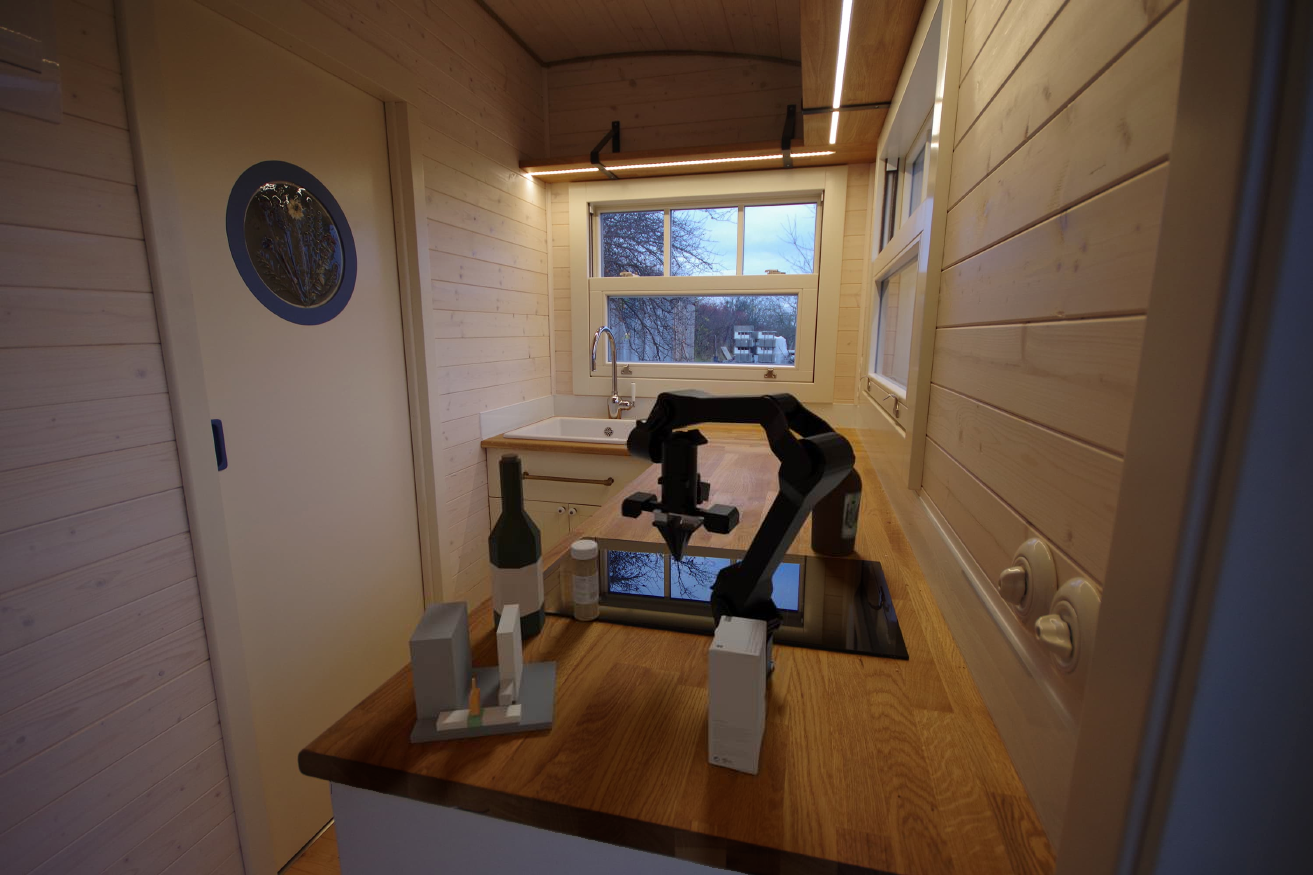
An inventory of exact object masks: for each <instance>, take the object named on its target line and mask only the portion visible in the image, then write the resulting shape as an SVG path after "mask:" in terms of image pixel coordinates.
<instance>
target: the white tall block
mask: <svg viewBox="0 0 1313 875" xmlns="http://www.w3.org/2000/svg"><path fill="white" fill-rule="evenodd" d="M496 644H497V657H498V658H497V659H498V666H499V673H500V691H499V706H503V705H512V701H515V700H517V699H518V693H519V687H520V681H521V675H522V670H523V664H524V663H523V646H522V640H521V629H520V614H519V604H515V605H504V608H503V612H502V615H501V619H500V623H499V626H498V630H497V633H496Z"/></svg>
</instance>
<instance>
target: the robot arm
mask: <svg viewBox="0 0 1313 875" xmlns="http://www.w3.org/2000/svg"><path fill="white" fill-rule="evenodd" d="M707 423H708V424H711V423H712V424H714V423H715V424H744V425H745V424H747V425H750V424H751V425H760V426H761V427H762V428H763V430H764V432H765V435H766V438H767V441H768V445H769V448H770V451H771V452H772V453H773V455H774V456H775V457H776V458H777V459H778V461H779V462H780V465H779V468H778V471H777V478H778V485H779V486H778V488H779V489H778V493H777V495H776V497H775V498H774V500H773V502H772V504H771V506H770V508H769V509H768V511H767V513H766V515H765V517H764V519H763V521H762V523H761V524H760V526H759V528H758V529H757V532H756V533H755V536H754V537H753V539H752V541H751V543H750V545H749V547H748V549H747V551H746V552H745V554H744V555H743V558H742V560H739V561H737V562H735V563H732V564H729V565H727V566H724V567H723V568H720V569H719V571H718V573H717V574H716V579H715V581H714V583H713V584H712V585H711V586H709V590H711V593H710V597H709V602H710V608H711V613H712V617H713V621H714V625H715V629H716V628H718V626H719V623H720V620H721V617H722V616H730V617H738V618H746V619H755V620H762V621H766V622H767V624H766V683H767V682H768V680H769V677H770V676H771V673H772V671H773V669H774V667H775V661H774V660H773V638H774V632H775V631H778V630H779V629H781V627H782V624H783V622H784V619H785V618H784V617H783V615H782V613H781V612H780V610H779V609H778V607H777V605H776V604H775V601H774V600H773V598H772V596H773V593H774V583H773V578H774V575H775V573H776V571H777V570H778V568H779V566H780V564H781V562H782V561H783V560H784V558H785V556H786V554H787V553H788V552H789V549H790V548H791V546H792V544H793V543H794V541H795V539H796V538H797V536H798V534H799V533H800V531H801V529H802V527H803V526H804V525H805V523H806V521H807V519H808V517H809V516H810V514H811V513H812V509H813V507H814V506H815V504H816V503H817V502H818V501H819V500H821V499H822V498H823V497H824V496H825V495H827V494H828V493H829V492H830V491H832V490H833V489H834V488H835V487H836V486H837V485H838V484H839V483H840V482H841V481H842V480H843V479H844V478H845V477H846V476H847V474H848V473H849V472H850V471H851V470H852V469H853V467H854V466H855V463H856V454H855V452H854V448H853V446H852V444H851V442H850V441H849V440H848V439H847V437H845V436H844V435H842V434H841V433H838V432H837V431H836V430H835V429H834V428H833V426H831V425H830V423H828V422H827V421H826V420H824V419H823V418H821V417H820V416H819V415H817V414H816V413H814V412H812V411H811V410H809V409H808V408H807V407H805V406H804V405H803V404H802V403H801V402H800V401H799V399H798V398H797V397H796V396H795V395H793V394H791V393H789V392H784V391H783V392H775V393H769V394H768V393H767V394H747V395H746V394H743V395H742V394H741V395H740V394H739V395H714V394H710V393H709V392H707V391H702V390H699V389H698V390H697V389H693V388H692V389H683V390H674V391H662V392H660V393H659V394H658V395H657V398H656V401H655V403H654V405H653V407H652V409H651V411H650V412H649V415H648V416H647V418H641V419H636V420H635V426H634V427H633V428H632V430H631V431H630V432H629V434H628V436H627V439H626V441H625V442H626V444H625V445H626V449H627V451H628V453H629V455H631V456H632V457H634V458H637V459H641V460H643V461H646V462H650V463H653V464H659V465H660V464H661V466H660V467H661V468H660V469H661V471H660V472H661V473H660V474H661V476H659V477H657V485H658V486H659V485H660V486H661V488H660V489H661V490H660V493H661V494H660V495H661V496H660V498H661V500H660V501H658V500H659V498H658V496H657V495H656V494H655V493H649V492H644V491H636V492H634V493H633V494H631V495H629V496H628V497H626V498H624V499H623V500H622V503H621V505H620V506H621V507H620V508H621V509H620V512H621V513H620V514H621V516H622V517H624V518H630V519H637V518H639V517H640V516H641V515H642V514H643V512H648V513H652V514H654V515H653V518H654V519H653V521H652V523H651V526H652V527H655V528H656V529H657V530H658V532H659V533H660V535H661V537H662V538H663V540H664V542H665V543H666V545H667V547H668V550H669V551H670V552H669V553H671V556H672V557H673V560H674V561H675V562H676V563H677V562H678V563H681V562H682V561H683V559H684V555H685V553H686V550H687V548H688V545H689V542H690V540H691V538H692V536H693V534H694V533H695V532H696V531H697V530H699V529H700V528H701V527H702V526H703V528H705V530H706V531H707V533H713V534H718V535H723V536H724V535H729V534H730V533H731V532H732V531H733V530H734V529H735V528H736V527H737V526H738V525H739V524H740V514H741V513H740V511H739V510H738V508H737V507H736V506H733V505H728V504H721V503H715V504H713V505H712V506H710V508H702V507H698V505H700V506H701V505H702V504H704V502H709V499H710V491H711V486H712V485H711V483H709V482H707V481H702V480H701V479H702V478H701V477H702V476H701V472H698V449H699V448H698V447H700V446H705V445H707V444H708V443H709V441H708V439H707V437H706V436H705V435H703V434H702V433H701V431H700V430H699V428H692V429H687V431H685V430H684V431H683V430H682V429H686V428H688V427H692V426H698V425H699V426H700V425H701V424H707ZM679 429H680V430H679ZM793 432H794V433H796V434H797V435H798V436H799V437H802V438H799V439H798V438H797V436H795V435H794V433H793ZM854 468H855V467H854Z"/></svg>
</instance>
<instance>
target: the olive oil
mask: <svg viewBox="0 0 1313 875" xmlns="http://www.w3.org/2000/svg"><path fill="white" fill-rule="evenodd" d="M862 493H863V482H862V477H861V475H860V473H859V472H858V470H857V469H856V468H855V467H853V469H852V470H851V471H850V472H849V473H848V474H847V476H846V477H845V478H844V479H843V480H842V481H841V482H840V483H839V484H838V485H837V486H836V487H835V488H834V489H833V490H832V491H830V492H829V493H828V494H827V495H825V496H824V497H823V498H822V499H821V500H819V501H818V502H817V503H816V504H815V506H814V507H813V509H812V511H811V528H810V529H811V532H810V533H811V540H810V546H811V548H812V549H813V550H814V551H815V552H816V553H819V554H822V555H825V556H830V557H847V556H850V555H852V554H853V553H854V552H855V549H856V548H855V546H856V536H857V533H858V523H859V522H858V520H859V515H860V514H859V513H860V506H861V498H862Z"/></svg>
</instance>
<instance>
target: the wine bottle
mask: <svg viewBox="0 0 1313 875" xmlns="http://www.w3.org/2000/svg"><path fill="white" fill-rule="evenodd" d="M498 468H499V470H498V471H499V481H500V482H499V483H500V484H499V485H500V498H501V510H502V511H501V514H500V515H499V517H498V519H497V521H496V522H495V524H494V526H493V528H492V530H491V532H490V533H489V535H488V539H487V540H488V541H487V543H488V554H489V555H488V557H489V566H490V567H489V568H490V581H491V597H492V609H493V610H492V611H493V621H494V622H493V623H494V632H495V633H496V634H497V630H498V626H499V623H500V619H501V615H502V612H503V608H504V605H515V604H519V614H520V629H521V641H524V640H527V639H529V638H531V637H534V636H536V635H539V634H540V633H541V632H542V631H543V628H544V626H545V624H546V608H545V606H546V605H545V590H544V574H543V573H544V571H543V553H542V552H543V551H542V536H541V535H542V533H541V530H540V528H539V527H538V526H537V524H536V523H535V521H533V519H532V518H531V516H530V515H529V514H528V512H527V511H526V510H525V506H524V503H525V502H524V488H523V471H522V470H523V469H522V459H521V458H519V455H518V453H505V454H502V455H501V459H500V460H498Z"/></svg>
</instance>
